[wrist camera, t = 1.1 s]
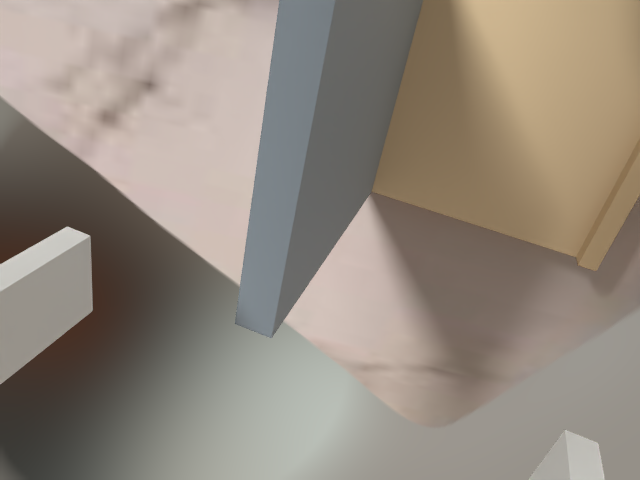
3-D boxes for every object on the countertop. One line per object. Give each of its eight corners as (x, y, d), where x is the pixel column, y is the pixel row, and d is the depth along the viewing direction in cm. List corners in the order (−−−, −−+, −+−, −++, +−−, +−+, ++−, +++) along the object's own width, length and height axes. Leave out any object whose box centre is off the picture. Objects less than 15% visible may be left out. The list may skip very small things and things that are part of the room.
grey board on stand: (419, -67, 27) (297, -133, 12) (722, -3, 24) (1077, 20, 9) (359, 172, 34) (234, 323, 19) (588, 244, 31) (659, 492, 16)
